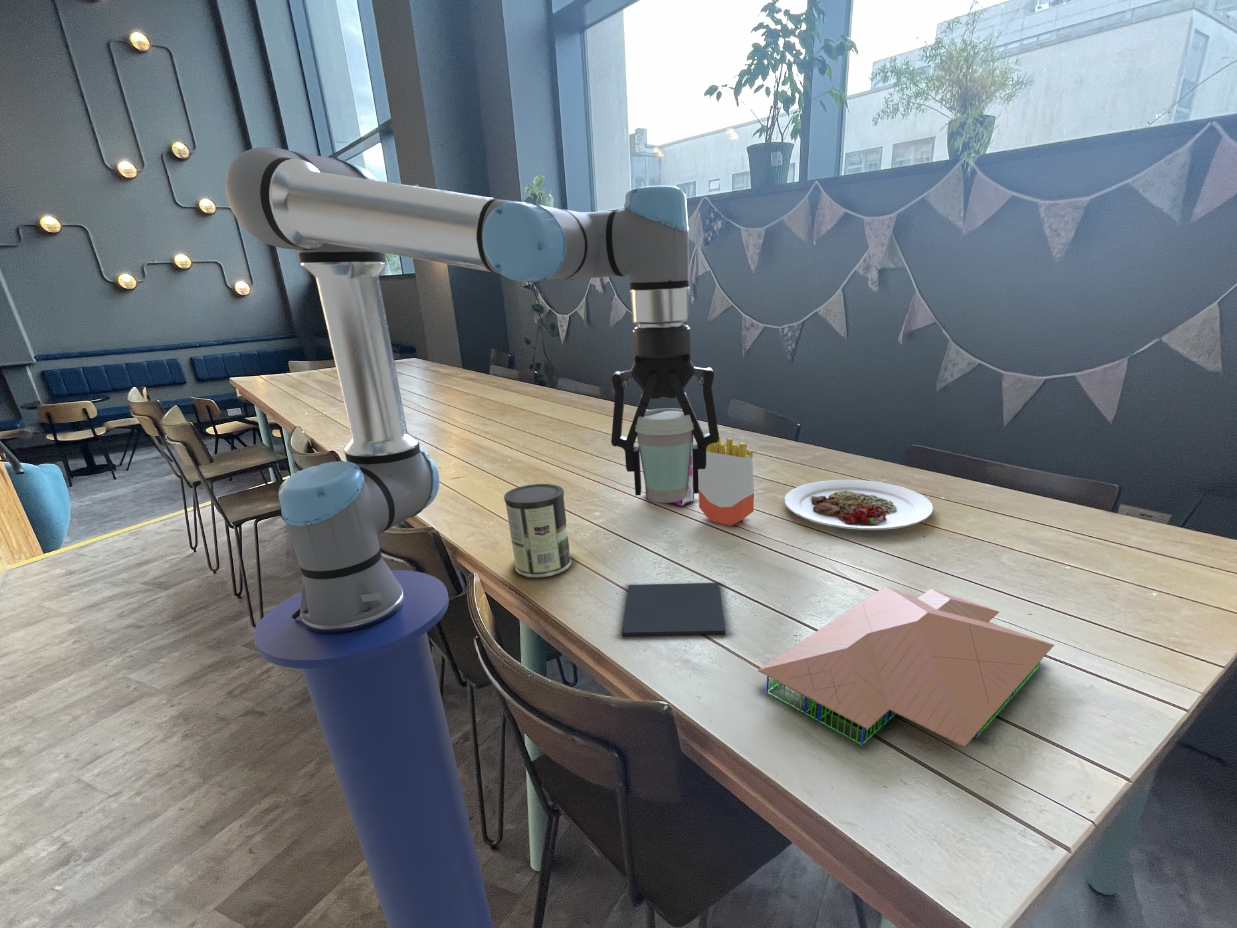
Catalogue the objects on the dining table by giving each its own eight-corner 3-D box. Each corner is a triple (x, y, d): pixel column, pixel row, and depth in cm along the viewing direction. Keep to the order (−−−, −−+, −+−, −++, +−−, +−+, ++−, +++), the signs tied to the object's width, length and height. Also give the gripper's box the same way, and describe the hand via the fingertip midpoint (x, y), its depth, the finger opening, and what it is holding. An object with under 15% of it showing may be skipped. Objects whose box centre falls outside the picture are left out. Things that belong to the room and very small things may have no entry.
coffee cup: (684, 483, 94) (682, 405, 89) (705, 501, 87) (704, 416, 82) (630, 491, 92) (625, 411, 87) (647, 510, 84) (643, 423, 79)
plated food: (867, 480, 149) (869, 466, 147) (965, 521, 123) (968, 505, 122) (759, 499, 140) (759, 485, 138) (839, 548, 114) (841, 531, 112)
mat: (622, 636, 89) (621, 632, 89) (629, 587, 103) (629, 584, 103) (725, 634, 89) (725, 630, 88) (718, 585, 102) (718, 582, 102)
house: (1055, 657, 80) (1070, 603, 77) (939, 794, 60) (952, 729, 57) (892, 598, 96) (898, 551, 92) (757, 691, 76) (759, 636, 73)
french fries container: (711, 511, 134) (710, 430, 126) (754, 521, 127) (756, 436, 120) (698, 518, 131) (697, 434, 123) (742, 528, 124) (744, 441, 117)
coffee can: (549, 549, 119) (541, 479, 113) (582, 564, 112) (575, 491, 106) (503, 566, 112) (492, 494, 107) (535, 583, 106) (525, 507, 100)
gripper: (737, 319, 82) (735, 481, 92) (586, 325, 83) (599, 485, 93) (743, 323, 76) (740, 497, 85) (578, 330, 76) (593, 502, 86)
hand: (667, 491), depth 89 cm, fingers closed on coffee cup, 8 cm apart
